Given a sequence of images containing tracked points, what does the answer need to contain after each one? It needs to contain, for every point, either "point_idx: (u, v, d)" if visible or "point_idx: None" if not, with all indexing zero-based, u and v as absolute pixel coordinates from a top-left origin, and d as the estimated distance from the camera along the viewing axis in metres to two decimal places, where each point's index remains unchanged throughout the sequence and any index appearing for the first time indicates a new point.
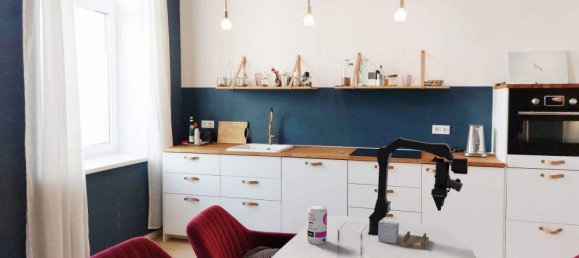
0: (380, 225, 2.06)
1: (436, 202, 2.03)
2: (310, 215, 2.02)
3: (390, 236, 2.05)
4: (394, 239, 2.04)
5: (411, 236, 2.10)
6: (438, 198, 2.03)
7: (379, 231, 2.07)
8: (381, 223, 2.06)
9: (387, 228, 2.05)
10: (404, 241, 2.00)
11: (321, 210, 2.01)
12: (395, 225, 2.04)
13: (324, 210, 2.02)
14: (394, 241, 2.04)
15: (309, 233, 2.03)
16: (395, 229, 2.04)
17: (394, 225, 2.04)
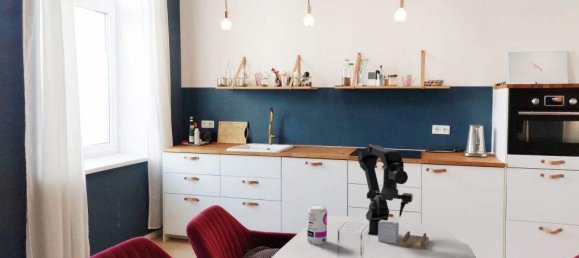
0: (380, 225, 2.06)
1: None
2: (310, 215, 2.02)
3: (390, 236, 2.05)
4: (394, 239, 2.04)
5: (411, 236, 2.10)
6: None
7: (379, 231, 2.07)
8: (381, 223, 2.06)
9: (387, 228, 2.05)
10: (404, 241, 2.00)
11: (321, 210, 2.01)
12: (395, 225, 2.04)
13: (324, 210, 2.02)
14: (394, 241, 2.04)
15: (309, 233, 2.03)
16: (395, 229, 2.04)
17: (394, 225, 2.04)
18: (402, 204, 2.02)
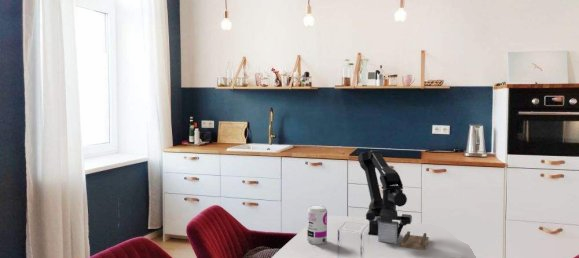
0: (380, 225, 2.06)
1: None
2: (310, 215, 2.02)
3: (390, 236, 2.05)
4: (394, 239, 2.04)
5: (411, 236, 2.10)
6: None
7: (379, 231, 2.07)
8: (381, 223, 2.06)
9: (387, 228, 2.05)
10: (404, 241, 2.00)
11: (321, 210, 2.01)
12: (395, 225, 2.04)
13: (324, 210, 2.02)
14: (394, 241, 2.04)
15: (309, 233, 2.03)
16: (395, 229, 2.04)
17: (394, 225, 2.04)
18: (400, 225, 2.03)
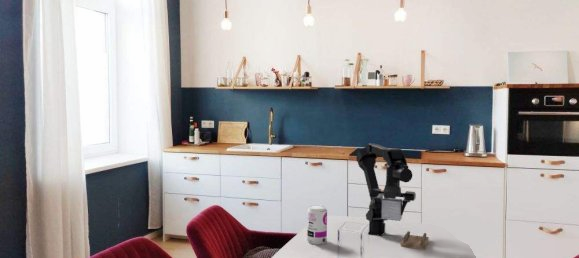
0: (383, 202, 2.05)
1: None
2: (310, 215, 2.02)
3: (394, 213, 2.04)
4: (398, 216, 2.03)
5: (411, 236, 2.10)
6: None
7: (382, 208, 2.06)
8: (384, 200, 2.05)
9: (391, 205, 2.04)
10: (404, 241, 2.00)
11: (321, 210, 2.01)
12: (399, 202, 2.02)
13: (324, 210, 2.02)
14: (398, 218, 2.03)
15: (309, 233, 2.03)
16: (399, 206, 2.03)
17: (398, 202, 2.03)
18: (404, 202, 2.02)
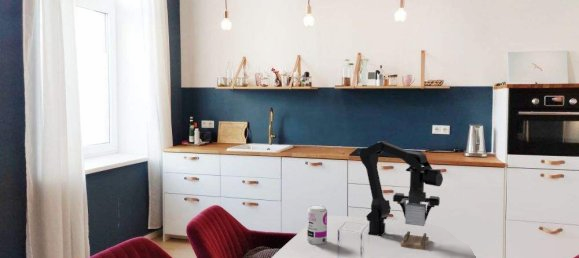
0: (407, 207, 2.03)
1: None
2: (310, 215, 2.02)
3: (418, 218, 2.02)
4: (422, 221, 2.01)
5: (411, 236, 2.10)
6: None
7: (406, 213, 2.04)
8: (408, 205, 2.03)
9: (415, 210, 2.02)
10: (404, 241, 2.00)
11: (321, 210, 2.01)
12: (423, 207, 2.01)
13: (324, 210, 2.02)
14: (422, 223, 2.02)
15: (309, 233, 2.03)
16: (423, 211, 2.01)
17: (422, 207, 2.01)
18: (428, 207, 2.00)
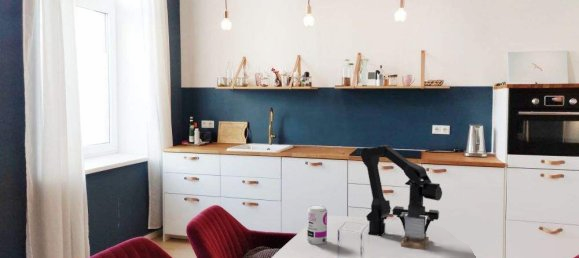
0: (407, 220, 2.04)
1: None
2: (310, 215, 2.02)
3: (418, 230, 2.02)
4: (421, 234, 2.02)
5: None
6: None
7: (406, 226, 2.04)
8: (408, 218, 2.04)
9: (414, 223, 2.03)
10: (404, 241, 2.00)
11: (321, 210, 2.01)
12: (422, 219, 2.01)
13: (324, 210, 2.02)
14: (421, 236, 2.02)
15: (309, 233, 2.03)
16: (422, 224, 2.01)
17: (421, 219, 2.01)
18: (427, 221, 2.01)
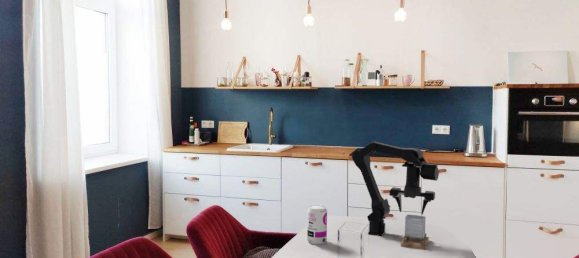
0: (407, 220, 2.04)
1: None
2: (310, 215, 2.02)
3: (418, 230, 2.02)
4: (421, 234, 2.02)
5: None
6: None
7: (406, 226, 2.04)
8: (408, 218, 2.04)
9: (414, 223, 2.03)
10: (404, 241, 2.00)
11: (321, 210, 2.01)
12: (422, 219, 2.01)
13: (324, 210, 2.02)
14: (421, 236, 2.02)
15: (309, 233, 2.03)
16: (422, 224, 2.01)
17: (421, 219, 2.01)
18: (424, 202, 2.05)
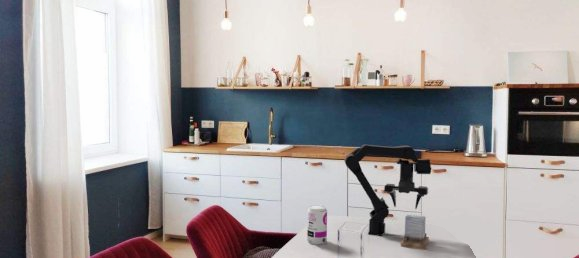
0: (407, 220, 2.04)
1: None
2: (310, 215, 2.02)
3: (418, 230, 2.02)
4: (421, 234, 2.02)
5: None
6: None
7: (406, 226, 2.04)
8: (408, 218, 2.04)
9: (414, 223, 2.03)
10: (404, 241, 2.00)
11: (321, 210, 2.01)
12: (422, 219, 2.01)
13: (324, 210, 2.02)
14: (421, 236, 2.02)
15: (309, 233, 2.03)
16: (422, 224, 2.01)
17: (421, 219, 2.01)
18: (418, 197, 2.13)
